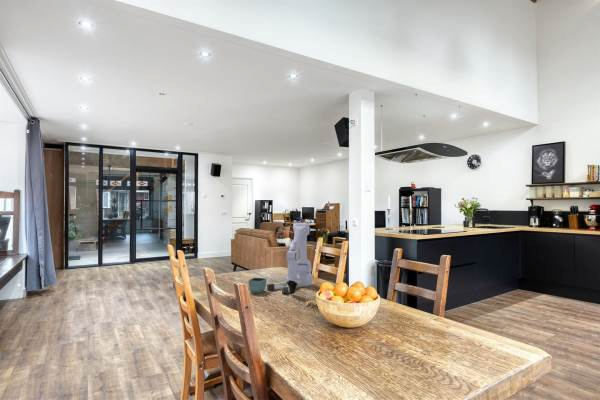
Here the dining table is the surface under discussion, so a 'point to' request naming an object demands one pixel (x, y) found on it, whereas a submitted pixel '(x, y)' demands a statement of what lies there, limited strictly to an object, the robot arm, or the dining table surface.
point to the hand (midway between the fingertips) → (292, 293)
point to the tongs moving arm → (286, 289)
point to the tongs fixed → (280, 285)
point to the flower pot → (257, 285)
